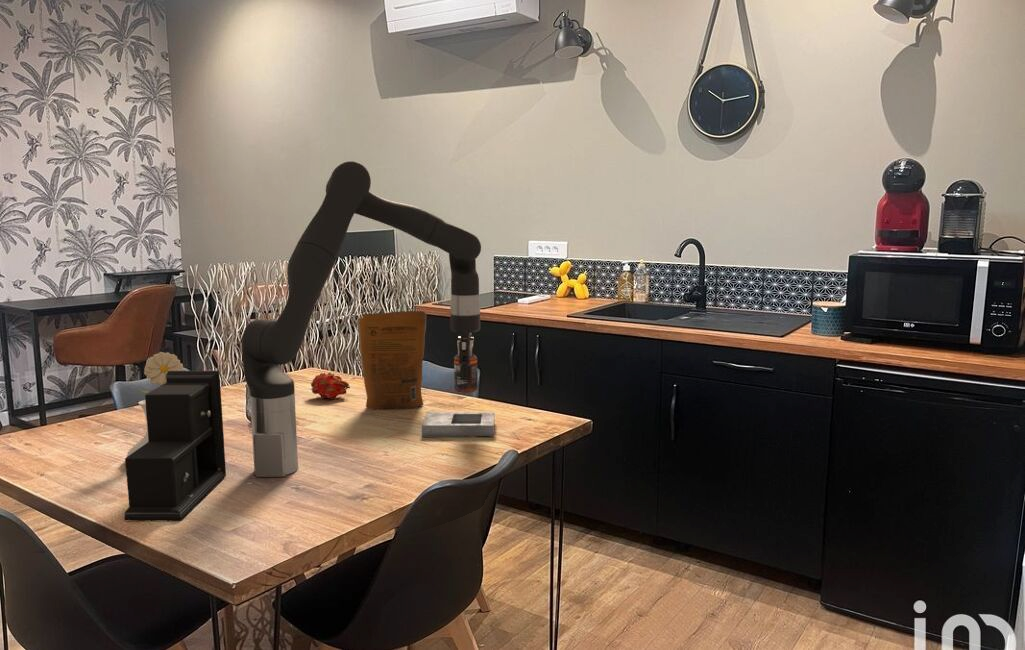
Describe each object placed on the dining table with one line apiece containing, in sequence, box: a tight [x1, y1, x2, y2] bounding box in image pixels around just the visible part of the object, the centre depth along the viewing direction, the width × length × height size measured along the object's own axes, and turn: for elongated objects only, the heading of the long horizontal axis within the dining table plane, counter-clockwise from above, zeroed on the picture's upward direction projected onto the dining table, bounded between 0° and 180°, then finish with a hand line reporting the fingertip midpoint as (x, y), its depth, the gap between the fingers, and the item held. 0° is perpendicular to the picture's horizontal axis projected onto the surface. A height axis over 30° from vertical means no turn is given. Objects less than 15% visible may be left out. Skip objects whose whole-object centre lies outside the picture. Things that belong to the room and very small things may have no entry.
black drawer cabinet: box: [123, 370, 227, 522], centre depth 150 cm, size 23×11×24 cm, turn 0°
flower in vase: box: [126, 351, 184, 457], centre depth 172 cm, size 13×11×25 cm
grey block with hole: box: [420, 411, 496, 438], centre depth 197 cm, size 12×18×3 cm, turn 90°
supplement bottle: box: [453, 346, 479, 394], centre depth 194 cm, size 6×6×11 cm
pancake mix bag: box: [357, 310, 427, 410], centre depth 216 cm, size 7×19×28 cm, turn 96°
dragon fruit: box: [310, 372, 351, 401], centre depth 229 cm, size 8×8×12 cm
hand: (465, 376), depth 195 cm, fingers closed on supplement bottle, 6 cm apart
